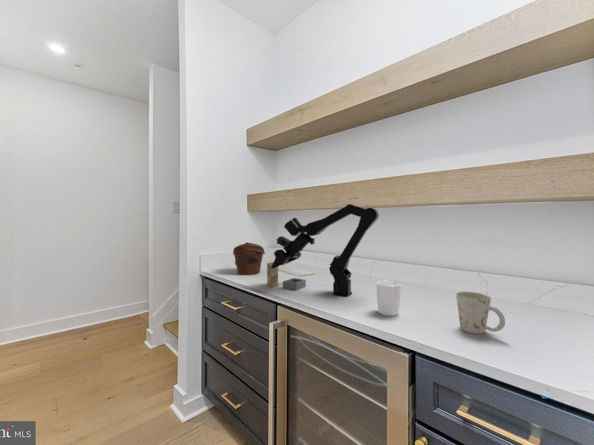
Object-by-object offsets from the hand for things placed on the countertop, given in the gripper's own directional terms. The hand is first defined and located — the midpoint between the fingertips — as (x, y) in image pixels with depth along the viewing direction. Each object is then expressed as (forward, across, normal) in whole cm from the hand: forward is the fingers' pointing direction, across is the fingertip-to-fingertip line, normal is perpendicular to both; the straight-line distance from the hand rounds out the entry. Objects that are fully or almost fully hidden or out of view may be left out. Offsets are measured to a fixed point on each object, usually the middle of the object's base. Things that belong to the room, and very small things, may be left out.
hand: (276, 266), depth 129 cm
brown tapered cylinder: (+28, -23, -14) cm, 39 cm away
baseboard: (+14, -37, +1) cm, 39 cm away
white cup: (-30, +16, +43) cm, 54 cm away
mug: (-48, +24, +60) cm, 80 cm away
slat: (+8, 0, +5) cm, 10 cm away
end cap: (+1, -2, +13) cm, 13 cm away
